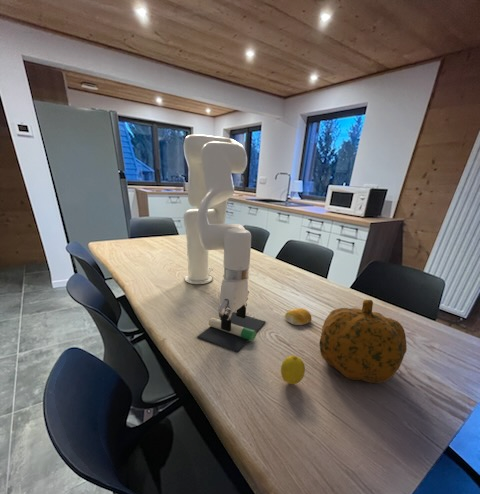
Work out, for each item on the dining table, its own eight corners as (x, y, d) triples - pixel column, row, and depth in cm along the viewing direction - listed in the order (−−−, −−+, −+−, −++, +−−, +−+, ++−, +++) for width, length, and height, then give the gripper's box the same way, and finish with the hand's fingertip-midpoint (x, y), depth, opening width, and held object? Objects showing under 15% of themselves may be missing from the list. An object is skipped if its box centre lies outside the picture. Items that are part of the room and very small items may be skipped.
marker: (214, 323, 88) (208, 328, 85) (213, 315, 86) (208, 320, 83) (255, 337, 81) (251, 342, 79) (256, 328, 79) (251, 334, 77)
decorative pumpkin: (357, 405, 58) (379, 322, 51) (300, 356, 76) (311, 290, 69) (417, 385, 66) (443, 311, 59) (352, 346, 84) (366, 285, 77)
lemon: (277, 375, 67) (280, 349, 63) (298, 375, 67) (303, 349, 64) (282, 391, 62) (286, 364, 58) (304, 391, 62) (310, 364, 59)
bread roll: (315, 321, 93) (317, 311, 91) (296, 328, 88) (298, 317, 87) (298, 312, 99) (300, 302, 97) (280, 317, 95) (281, 307, 93)
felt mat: (230, 312, 96) (230, 310, 96) (265, 322, 91) (265, 321, 91) (197, 337, 80) (197, 336, 80) (237, 352, 75) (237, 350, 75)
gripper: (238, 263, 86) (236, 309, 93) (208, 278, 72) (208, 331, 79) (259, 267, 83) (255, 315, 90) (232, 284, 69) (230, 339, 76)
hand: (233, 323), depth 85 cm, fingers open, 9 cm apart
